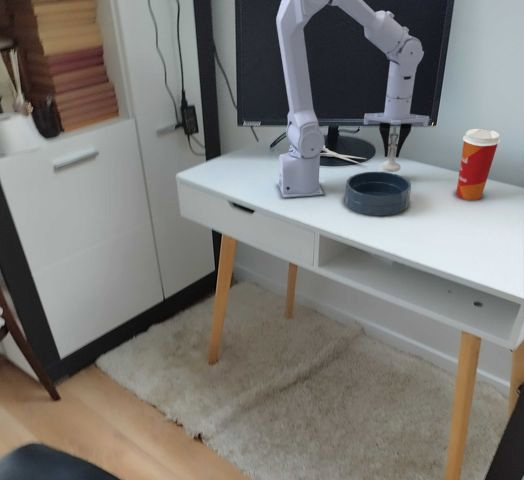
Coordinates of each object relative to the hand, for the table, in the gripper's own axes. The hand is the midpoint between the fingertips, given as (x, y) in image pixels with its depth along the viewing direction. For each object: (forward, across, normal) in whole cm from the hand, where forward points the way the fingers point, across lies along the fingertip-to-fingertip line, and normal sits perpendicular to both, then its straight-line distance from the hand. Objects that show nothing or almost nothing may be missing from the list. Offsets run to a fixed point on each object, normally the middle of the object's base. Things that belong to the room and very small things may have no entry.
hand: (391, 155), depth 132 cm
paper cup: (+6, +18, -7) cm, 21 cm away
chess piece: (+3, 0, 0) cm, 3 cm away
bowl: (+6, -2, -15) cm, 16 cm away
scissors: (+6, -15, +12) cm, 20 cm away
